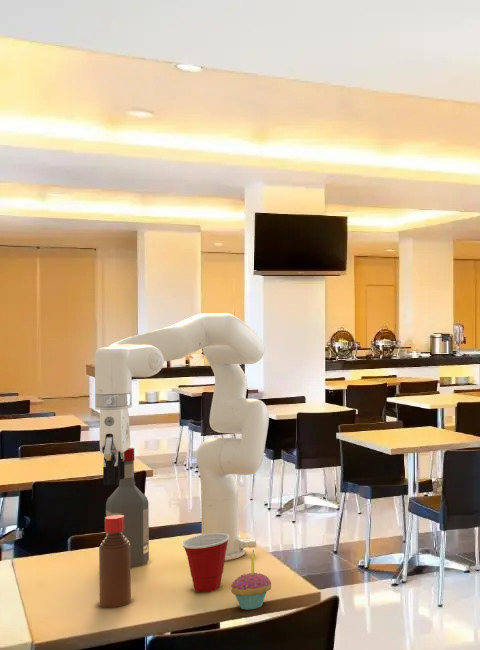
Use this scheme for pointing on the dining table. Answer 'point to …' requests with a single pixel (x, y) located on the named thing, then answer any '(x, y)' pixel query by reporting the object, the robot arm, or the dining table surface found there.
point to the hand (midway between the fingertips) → (114, 480)
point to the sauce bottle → (114, 571)
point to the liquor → (131, 512)
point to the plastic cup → (206, 560)
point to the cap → (114, 524)
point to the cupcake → (251, 588)
